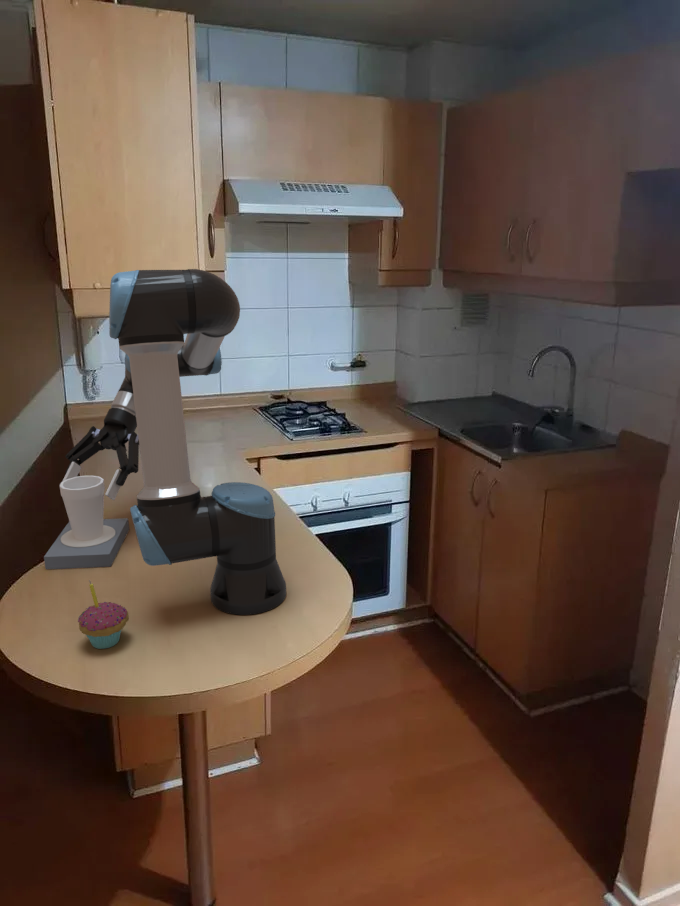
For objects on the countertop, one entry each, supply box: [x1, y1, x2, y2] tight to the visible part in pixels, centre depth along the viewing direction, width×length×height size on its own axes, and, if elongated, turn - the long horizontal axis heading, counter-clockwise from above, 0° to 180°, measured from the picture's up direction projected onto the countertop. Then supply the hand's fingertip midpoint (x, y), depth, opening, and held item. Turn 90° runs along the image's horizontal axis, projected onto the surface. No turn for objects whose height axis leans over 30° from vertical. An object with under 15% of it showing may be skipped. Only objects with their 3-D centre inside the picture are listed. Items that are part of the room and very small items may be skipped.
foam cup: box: [59, 475, 106, 541], centre depth 162 cm, size 10×9×13 cm
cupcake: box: [77, 579, 130, 650], centre depth 126 cm, size 9×8×12 cm
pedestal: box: [43, 517, 130, 570], centre depth 164 cm, size 20×14×3 cm
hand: (86, 493), depth 162 cm, fingers open, 13 cm apart
